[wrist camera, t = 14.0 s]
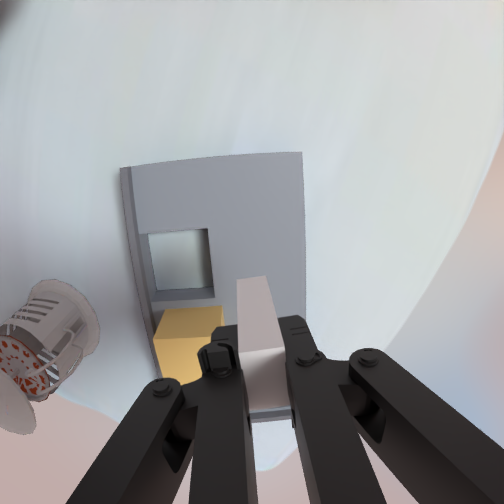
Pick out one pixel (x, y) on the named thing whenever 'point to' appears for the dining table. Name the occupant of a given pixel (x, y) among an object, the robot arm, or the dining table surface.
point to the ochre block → (185, 340)
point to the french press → (33, 341)
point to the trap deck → (222, 233)
